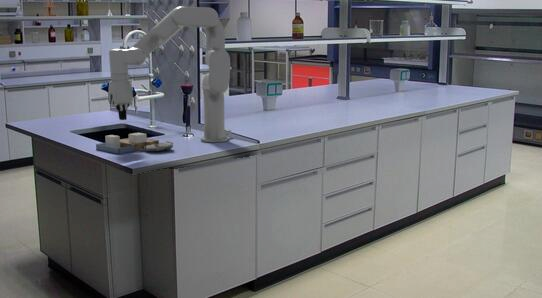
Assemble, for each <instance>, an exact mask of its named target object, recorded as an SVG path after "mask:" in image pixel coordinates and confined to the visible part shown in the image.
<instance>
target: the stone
mask: <svg viewBox="0 0 542 298" xmlns="http://www.w3.org/2000/svg"><path fill="white" fill-rule="evenodd" d="M173 147H174V143H173V142H172V141H167V140H166V141H165V142H162V143H161V142H159V143H158V144H151V145H146V146H145V147H144V148H145V149H144V150H146V151H148V152H160V151H164V150H171V149H172V148H173Z"/></svg>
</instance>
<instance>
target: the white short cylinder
mask: <svg viewBox="0 0 542 298" xmlns="http://www.w3.org/2000/svg"><path fill="white" fill-rule="evenodd" d="M104 138H105V143H106V146H110V147H115V148H120V139H121V137H120V136H119V135H114V134H109V135H105V137H104Z"/></svg>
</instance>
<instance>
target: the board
mask: <svg viewBox="0 0 542 298" xmlns="http://www.w3.org/2000/svg"><path fill="white" fill-rule="evenodd" d="M158 143H160V140H158V139H153V138H147V142H142V143H131V142H129V137H128V138H122V139H121V138H120V148H123V147H129V146H134V152H138V151H144V150H146V149H145V148H144V147H145V146H146V145H151V144H158Z"/></svg>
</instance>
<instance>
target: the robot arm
mask: <svg viewBox="0 0 542 298" xmlns="http://www.w3.org/2000/svg"><path fill="white" fill-rule="evenodd" d="M184 27H186V28H187V27H190V28H202V29H203V30H204V33H205V40H206V41H205V56H204V61H205V64H206V65H207V67H208V73H206V74H205V75H204V76H203V79H202V85H201V87H202V96H203V97H202V98H203V99H202V100H203V135H204V136H202V137H201V138H200V141H201V142H205V143H223V142H227V141H228V140H229V138H228V136H227V135H231V134H232V130H230V129H229V130H226V129H225V95H224V94H225V93H226V92H227V90H228V89H229V85H230V79H231V78H230V77H231V57H230V55H229V52H227V50H226V49H225V48H226V34H225V33H226V31H225V29H224V26H223V24H222V22H221V20H220V19H219V14H218V12H217V11H216V9H214V8H212V7H207V6H206V7H204V6H202V7H201V6H199V7H198V6H183V5H182V6H176V7H175V8H173V9H172V10H171V11H170V12H169V13H167V14H166V15H165V16H164V17H163V18H162V19H161V20H160V21H159V22H158V23H156V24H155V25H154V26H153V27H152V28H151V29H150V30H149V31H148V32H147V33H145V35H143V36H142V37H141V38H140V39H139V40H138V41H136V42H135V43H134V44H133V45H132V46H131V47H130V48H128V49H124V48H113V49H112V48H111V49H110V50H109V51H108V56H109V69H110V70H109V72H110V81H109V82H108V91H107V92H108V95H107V96H108V103H109V104H110V107H111V108H114V109H116V111H118V118H119V120H120V121H126V120H127V111H128V109H129V107H131V106H132V105H134V104H133V101H134V94H133V88H132V84H131V80H130V79H129V78H131V74H130V73H129V66H137V67H138V66H141V65H143V64H144V63H145V62H146V59H147V57H148V56H149V55H150V54H152V52H154V51H155V50H156V49H157V48H159V47H162V46H163V45H165V44H166V43H168V42H169V41H170V40H171V39H172V38H173V37H175V35H176V34H177V33H179V31H181V30H182V29H183V28H184Z"/></svg>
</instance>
